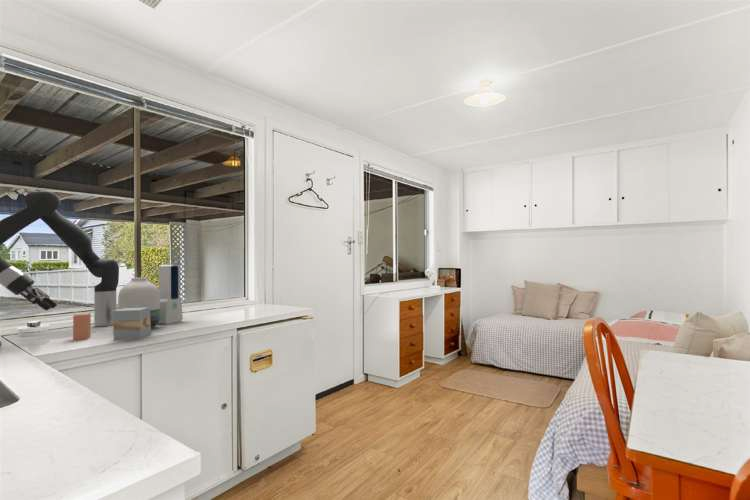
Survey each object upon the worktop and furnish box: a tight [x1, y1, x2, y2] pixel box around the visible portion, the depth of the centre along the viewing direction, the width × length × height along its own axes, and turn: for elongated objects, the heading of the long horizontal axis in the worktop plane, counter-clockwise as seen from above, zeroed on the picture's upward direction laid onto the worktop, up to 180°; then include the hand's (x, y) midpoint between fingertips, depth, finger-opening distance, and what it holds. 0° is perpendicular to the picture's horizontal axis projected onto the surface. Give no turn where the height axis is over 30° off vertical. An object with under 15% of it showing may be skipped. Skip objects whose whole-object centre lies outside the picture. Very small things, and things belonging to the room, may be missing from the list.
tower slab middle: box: [112, 317, 151, 332], centre depth 162 cm, size 10×10×4 cm
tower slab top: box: [113, 307, 150, 321], centre depth 162 cm, size 10×10×4 cm
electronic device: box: [157, 264, 184, 325], centre depth 200 cm, size 12×8×30 cm, turn 168°
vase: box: [117, 277, 160, 329], centre depth 183 cm, size 17×17×24 cm
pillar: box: [72, 312, 92, 341], centre depth 160 cm, size 5×5×10 cm
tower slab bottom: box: [113, 326, 152, 341], centre depth 162 cm, size 10×10×4 cm
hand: (52, 307), depth 156 cm, fingers open, 8 cm apart
